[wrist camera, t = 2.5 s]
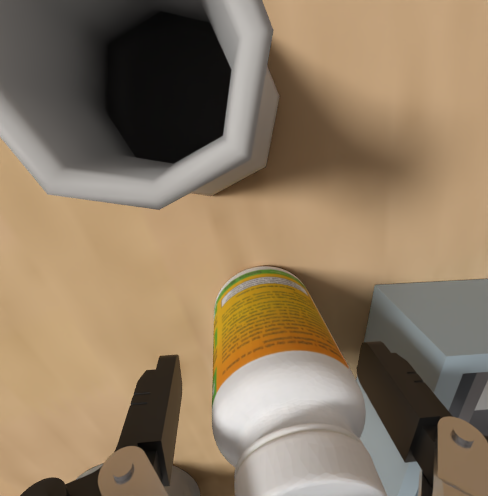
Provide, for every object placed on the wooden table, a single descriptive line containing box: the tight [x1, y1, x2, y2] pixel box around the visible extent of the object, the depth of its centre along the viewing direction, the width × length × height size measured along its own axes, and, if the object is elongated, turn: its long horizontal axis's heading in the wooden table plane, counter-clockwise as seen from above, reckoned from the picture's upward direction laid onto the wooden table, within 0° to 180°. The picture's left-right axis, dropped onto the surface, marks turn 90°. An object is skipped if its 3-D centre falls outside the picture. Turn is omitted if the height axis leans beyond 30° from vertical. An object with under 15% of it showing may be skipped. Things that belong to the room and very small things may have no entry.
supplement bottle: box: [212, 266, 387, 496], centre depth 12 cm, size 5×5×10 cm
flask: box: [0, 0, 280, 210], centre depth 7 cm, size 7×7×10 cm
